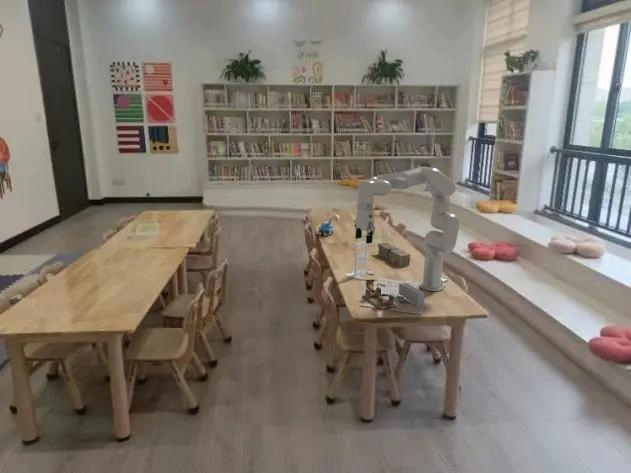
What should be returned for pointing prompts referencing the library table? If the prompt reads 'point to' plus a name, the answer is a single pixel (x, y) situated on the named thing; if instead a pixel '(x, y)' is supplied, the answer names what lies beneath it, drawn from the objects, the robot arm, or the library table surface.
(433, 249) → the robot arm
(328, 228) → the toy excavator
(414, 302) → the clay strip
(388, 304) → the rack
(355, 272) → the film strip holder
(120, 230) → the library table surface
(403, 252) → the grey-brown long block
